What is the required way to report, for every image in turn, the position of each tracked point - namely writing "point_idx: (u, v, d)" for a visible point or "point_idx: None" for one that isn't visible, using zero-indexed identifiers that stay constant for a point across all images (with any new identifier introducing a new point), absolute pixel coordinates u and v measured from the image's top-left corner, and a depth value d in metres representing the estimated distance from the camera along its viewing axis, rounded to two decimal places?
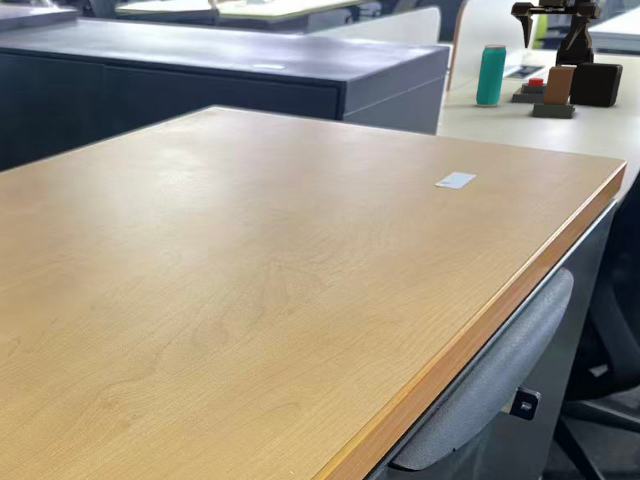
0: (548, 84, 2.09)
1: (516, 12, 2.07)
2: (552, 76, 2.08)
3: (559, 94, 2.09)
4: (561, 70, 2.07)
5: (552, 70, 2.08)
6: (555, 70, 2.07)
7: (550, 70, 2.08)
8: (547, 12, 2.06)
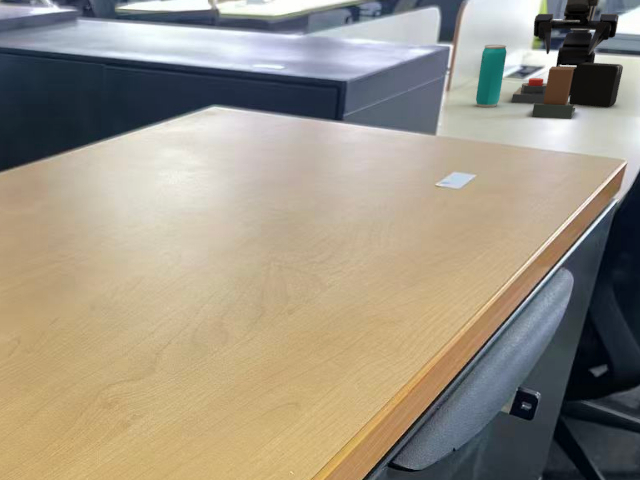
0: (548, 84, 2.09)
1: (540, 19, 2.16)
2: (552, 76, 2.08)
3: (559, 94, 2.09)
4: (561, 70, 2.07)
5: (552, 70, 2.08)
6: (555, 70, 2.07)
7: (550, 70, 2.08)
8: (568, 25, 2.15)
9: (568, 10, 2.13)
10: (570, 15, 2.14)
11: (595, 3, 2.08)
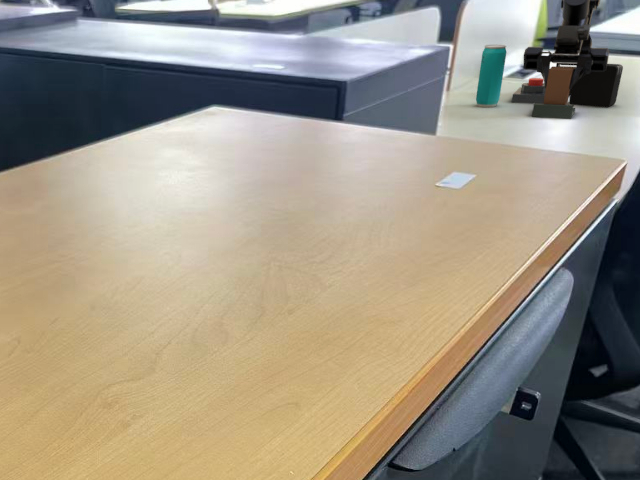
0: (548, 84, 2.09)
1: (530, 52, 2.12)
2: (552, 76, 2.08)
3: (559, 94, 2.09)
4: (561, 70, 2.07)
5: (552, 70, 2.08)
6: (555, 70, 2.07)
7: (550, 70, 2.08)
8: (558, 58, 2.11)
9: (558, 44, 2.09)
10: (560, 49, 2.10)
11: (585, 37, 2.04)
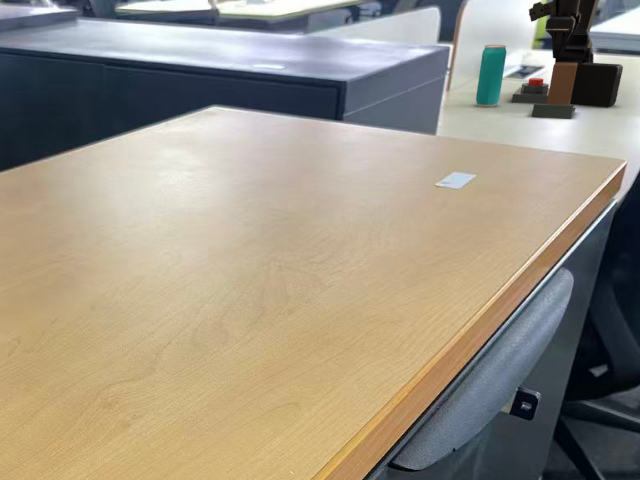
0: (552, 79, 2.15)
1: None
2: (557, 72, 2.14)
3: (563, 89, 2.15)
4: (565, 66, 2.13)
5: (556, 66, 2.14)
6: (559, 66, 2.13)
7: (554, 66, 2.14)
8: None
9: None
10: None
11: (536, 16, 2.17)
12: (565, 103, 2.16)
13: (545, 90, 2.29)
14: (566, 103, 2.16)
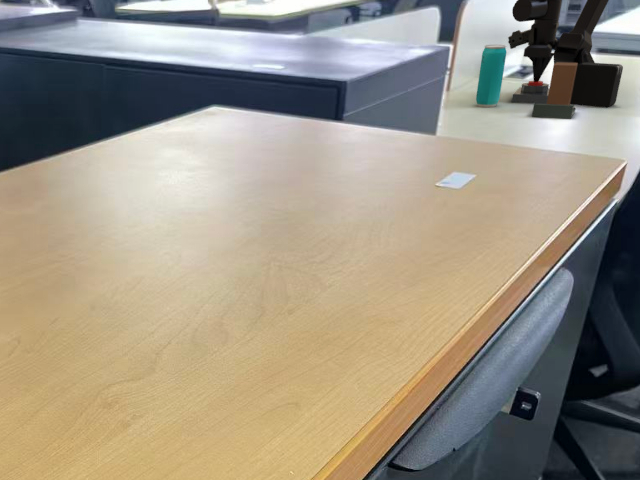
0: (552, 79, 2.15)
1: None
2: (557, 72, 2.14)
3: (563, 89, 2.15)
4: (565, 66, 2.13)
5: (556, 66, 2.14)
6: (559, 66, 2.13)
7: (554, 66, 2.14)
8: None
9: None
10: None
11: (515, 44, 2.26)
12: (565, 103, 2.16)
13: (545, 90, 2.29)
14: (566, 103, 2.16)
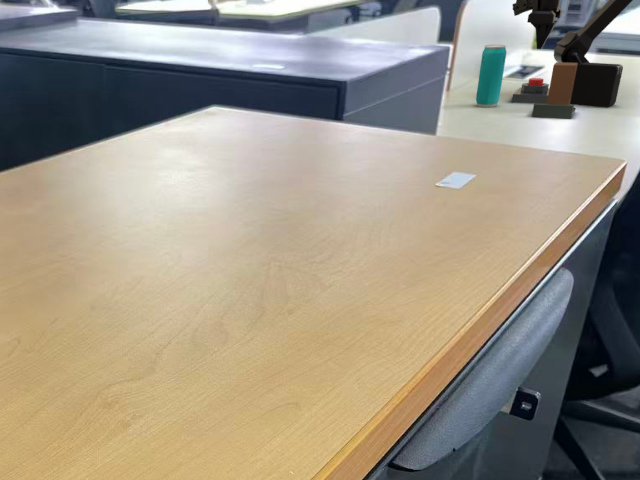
0: (552, 79, 2.15)
1: None
2: (557, 72, 2.14)
3: (563, 89, 2.15)
4: (565, 66, 2.13)
5: (556, 66, 2.14)
6: (559, 66, 2.13)
7: (554, 66, 2.14)
8: None
9: None
10: None
11: (519, 10, 2.30)
12: (565, 103, 2.16)
13: (545, 90, 2.29)
14: (566, 103, 2.16)
